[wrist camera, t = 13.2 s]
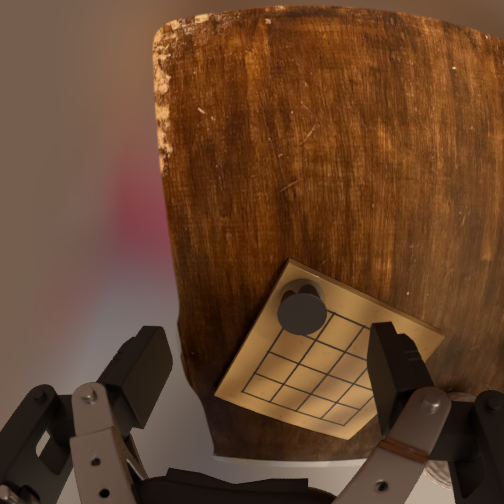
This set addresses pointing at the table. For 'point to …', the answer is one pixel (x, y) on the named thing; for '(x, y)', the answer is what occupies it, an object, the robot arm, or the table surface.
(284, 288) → the dark grey puck
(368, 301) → the board
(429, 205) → the table surface
